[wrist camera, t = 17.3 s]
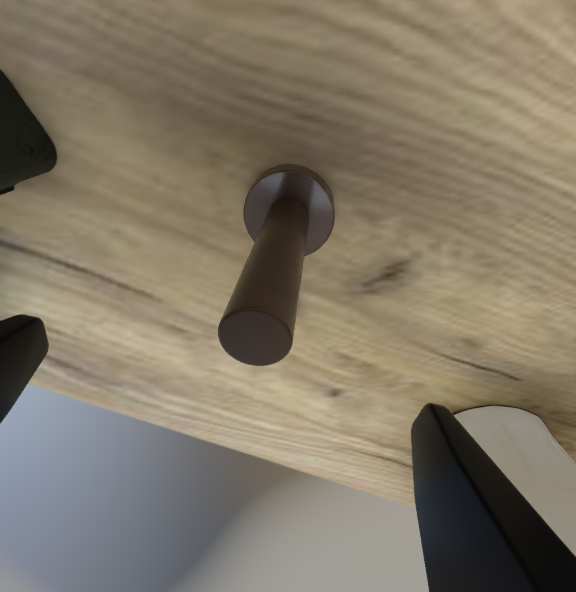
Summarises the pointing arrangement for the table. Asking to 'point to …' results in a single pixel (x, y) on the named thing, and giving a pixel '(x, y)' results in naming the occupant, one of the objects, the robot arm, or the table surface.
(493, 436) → the cup
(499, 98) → the table surface
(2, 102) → the candle
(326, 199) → the brown peg stand
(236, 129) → the table surface
